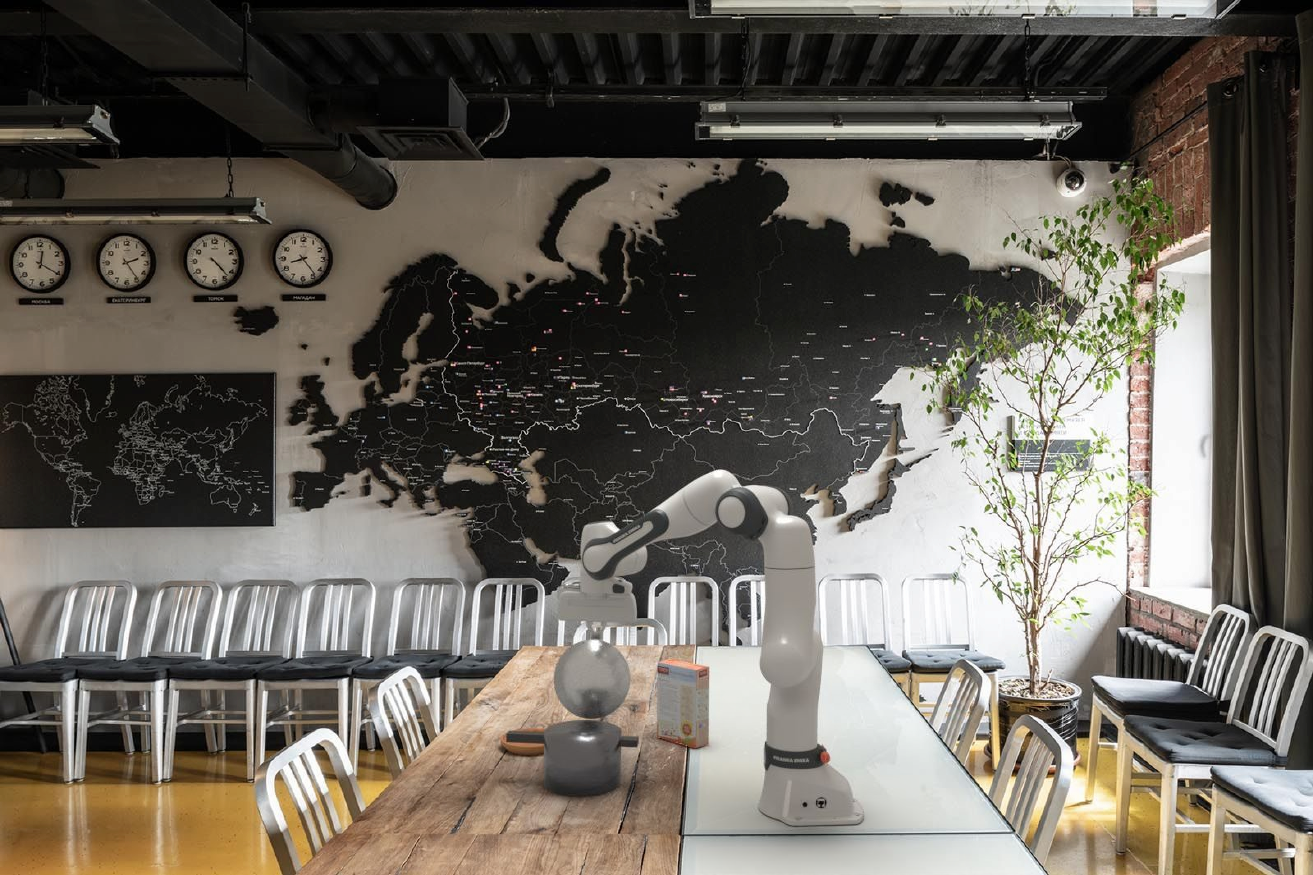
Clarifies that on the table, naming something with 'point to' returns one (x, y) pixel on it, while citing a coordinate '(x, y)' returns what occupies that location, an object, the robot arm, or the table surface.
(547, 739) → the cooking pot
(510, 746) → the saucer
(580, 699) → the pot lid
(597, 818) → the table surface
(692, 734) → the cracker box
